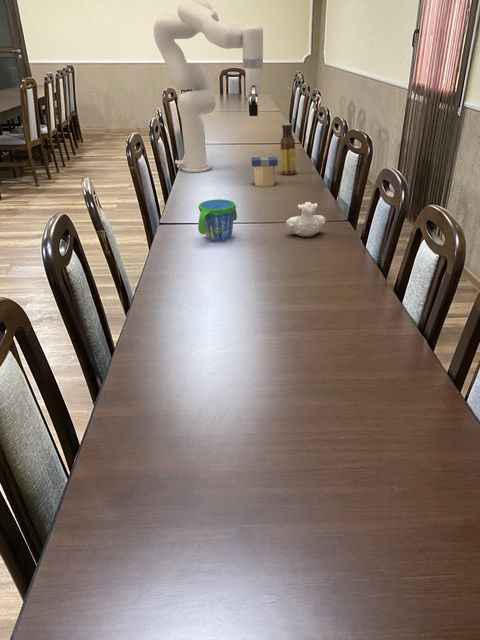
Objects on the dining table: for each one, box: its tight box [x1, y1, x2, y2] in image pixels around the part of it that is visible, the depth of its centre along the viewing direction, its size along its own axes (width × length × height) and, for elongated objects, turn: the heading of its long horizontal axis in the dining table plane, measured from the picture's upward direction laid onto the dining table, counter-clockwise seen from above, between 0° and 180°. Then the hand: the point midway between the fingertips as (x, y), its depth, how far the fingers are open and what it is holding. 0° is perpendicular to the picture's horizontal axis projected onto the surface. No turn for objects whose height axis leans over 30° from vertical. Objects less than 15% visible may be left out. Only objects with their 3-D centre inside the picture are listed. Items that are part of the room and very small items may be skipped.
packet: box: [251, 156, 279, 168], centre depth 211 cm, size 10×6×2 cm, turn 93°
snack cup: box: [197, 198, 238, 242], centre depth 157 cm, size 16×10×10 cm
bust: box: [285, 201, 326, 238], centre depth 158 cm, size 12×8×11 cm
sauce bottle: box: [279, 123, 297, 176], centre depth 225 cm, size 7×6×20 cm
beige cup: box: [253, 166, 276, 188], centre depth 213 cm, size 8×8×8 cm
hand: (253, 114), depth 209 cm, fingers open, 9 cm apart
